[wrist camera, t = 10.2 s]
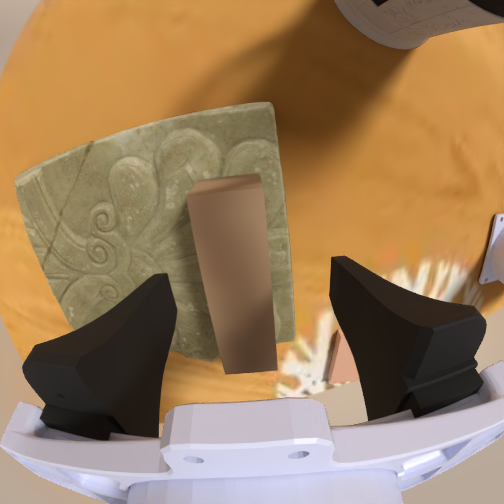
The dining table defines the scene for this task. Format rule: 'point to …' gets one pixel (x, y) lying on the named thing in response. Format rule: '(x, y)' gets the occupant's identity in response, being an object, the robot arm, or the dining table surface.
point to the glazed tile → (342, 362)
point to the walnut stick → (236, 269)
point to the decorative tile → (153, 216)
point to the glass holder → (417, 18)
